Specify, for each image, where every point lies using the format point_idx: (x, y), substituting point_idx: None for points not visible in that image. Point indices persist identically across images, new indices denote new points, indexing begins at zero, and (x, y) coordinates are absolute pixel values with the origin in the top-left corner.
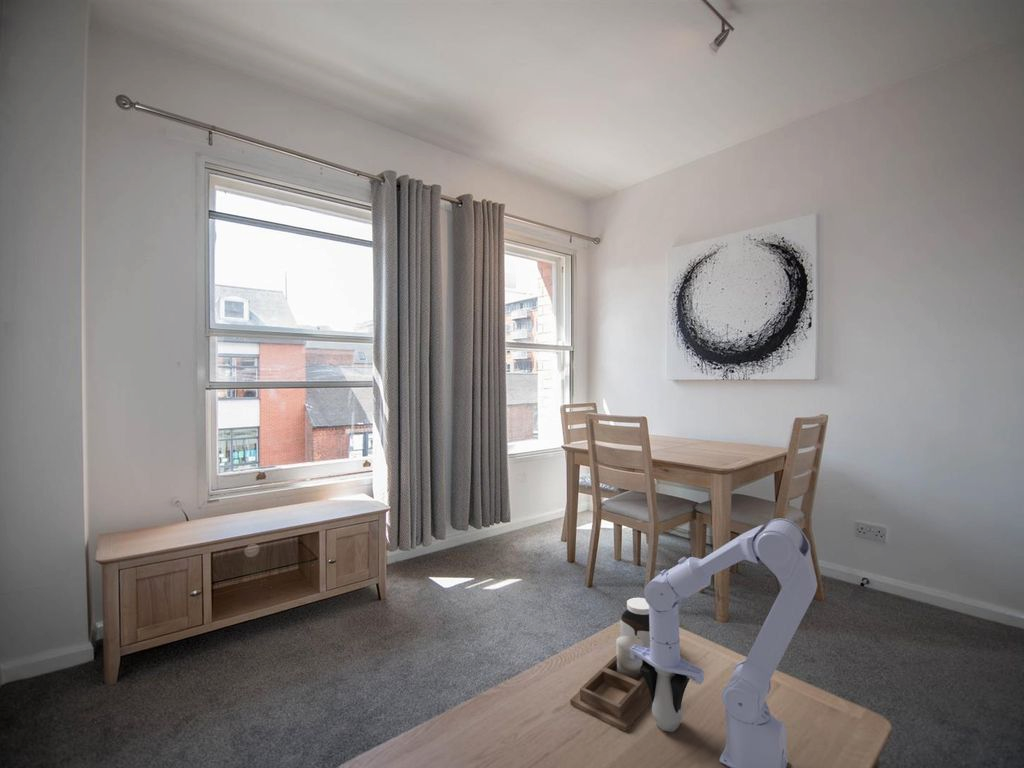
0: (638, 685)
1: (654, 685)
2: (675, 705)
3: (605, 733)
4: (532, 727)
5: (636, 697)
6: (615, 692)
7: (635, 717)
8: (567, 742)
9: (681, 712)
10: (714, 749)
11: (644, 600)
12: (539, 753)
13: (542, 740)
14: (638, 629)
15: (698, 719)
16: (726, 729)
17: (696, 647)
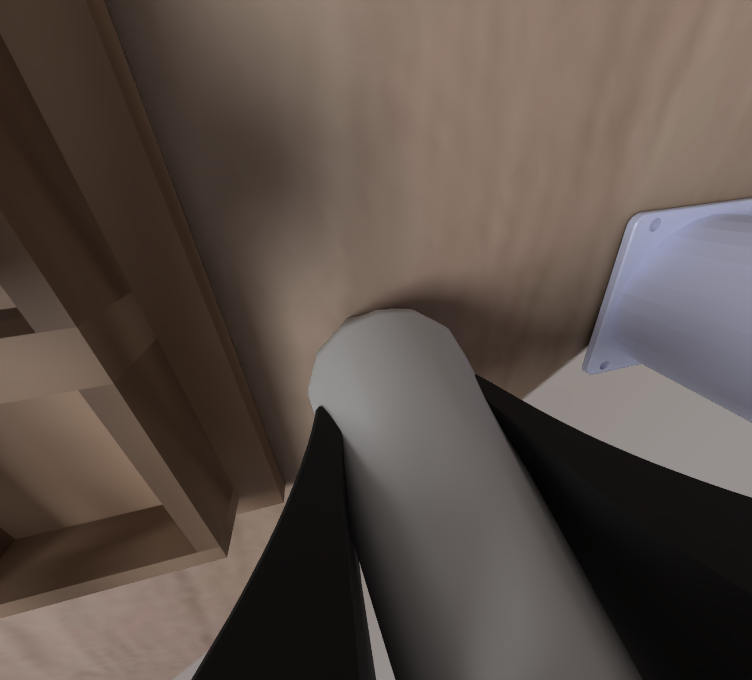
0: (104, 379)
1: (358, 567)
2: None
3: (242, 527)
4: (77, 648)
5: (163, 378)
6: (18, 404)
7: (260, 432)
8: (201, 603)
9: (470, 365)
10: (560, 329)
11: None
12: (193, 647)
13: (152, 638)
14: None
15: (477, 204)
16: (715, 381)
17: None
